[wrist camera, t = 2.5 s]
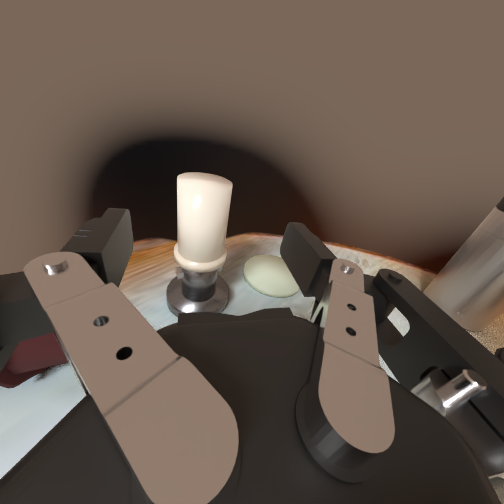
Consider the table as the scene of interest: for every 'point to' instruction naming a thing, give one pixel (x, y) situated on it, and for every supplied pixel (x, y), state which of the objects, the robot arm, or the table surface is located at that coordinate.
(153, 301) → the table surface
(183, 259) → the cream white cylinder
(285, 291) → the coaster
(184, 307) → the dark grey stepped piece
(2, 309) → the robot arm
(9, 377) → the brown turtle figurine
